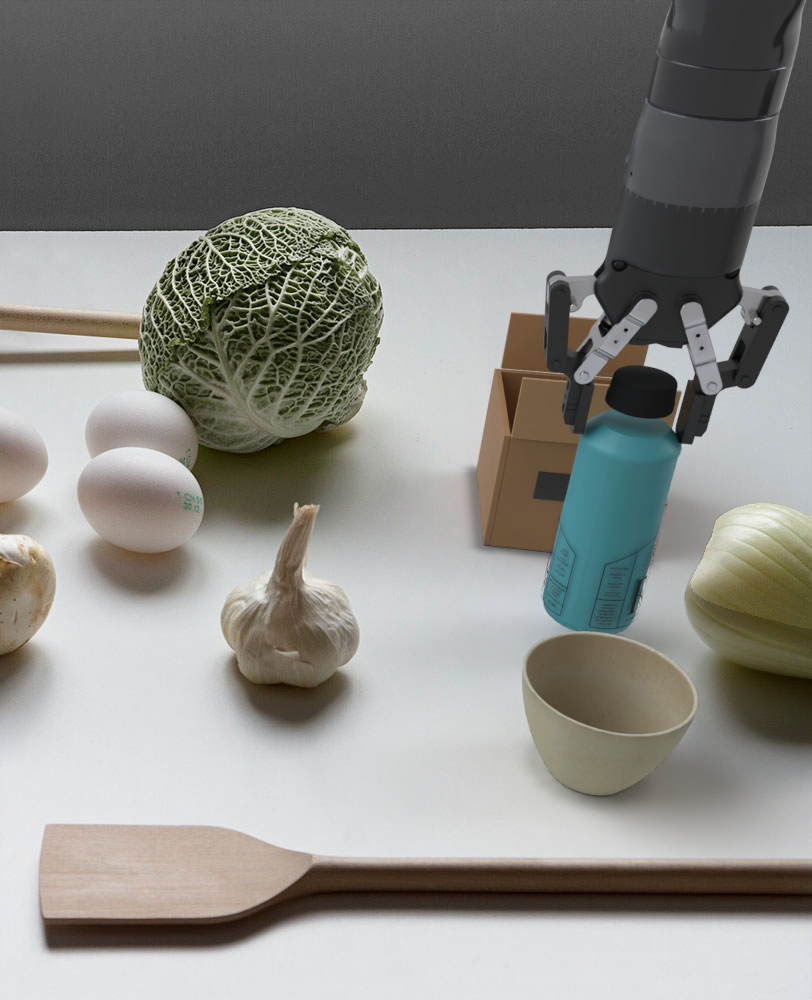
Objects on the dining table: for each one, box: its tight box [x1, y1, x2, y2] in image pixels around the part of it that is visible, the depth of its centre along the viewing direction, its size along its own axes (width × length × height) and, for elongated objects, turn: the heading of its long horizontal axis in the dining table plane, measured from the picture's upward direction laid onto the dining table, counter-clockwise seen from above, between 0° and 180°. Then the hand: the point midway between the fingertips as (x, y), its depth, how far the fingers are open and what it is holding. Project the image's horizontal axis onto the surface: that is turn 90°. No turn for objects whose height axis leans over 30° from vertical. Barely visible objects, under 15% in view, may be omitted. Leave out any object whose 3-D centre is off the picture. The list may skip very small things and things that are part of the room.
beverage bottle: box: [540, 365, 683, 635], centre depth 87 cm, size 6×7×20 cm
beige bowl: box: [521, 631, 700, 796], centre depth 80 cm, size 10×10×7 cm
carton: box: [475, 311, 682, 553], centre depth 104 cm, size 12×13×15 cm
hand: (629, 432), depth 84 cm, fingers closed on beverage bottle, 6 cm apart
